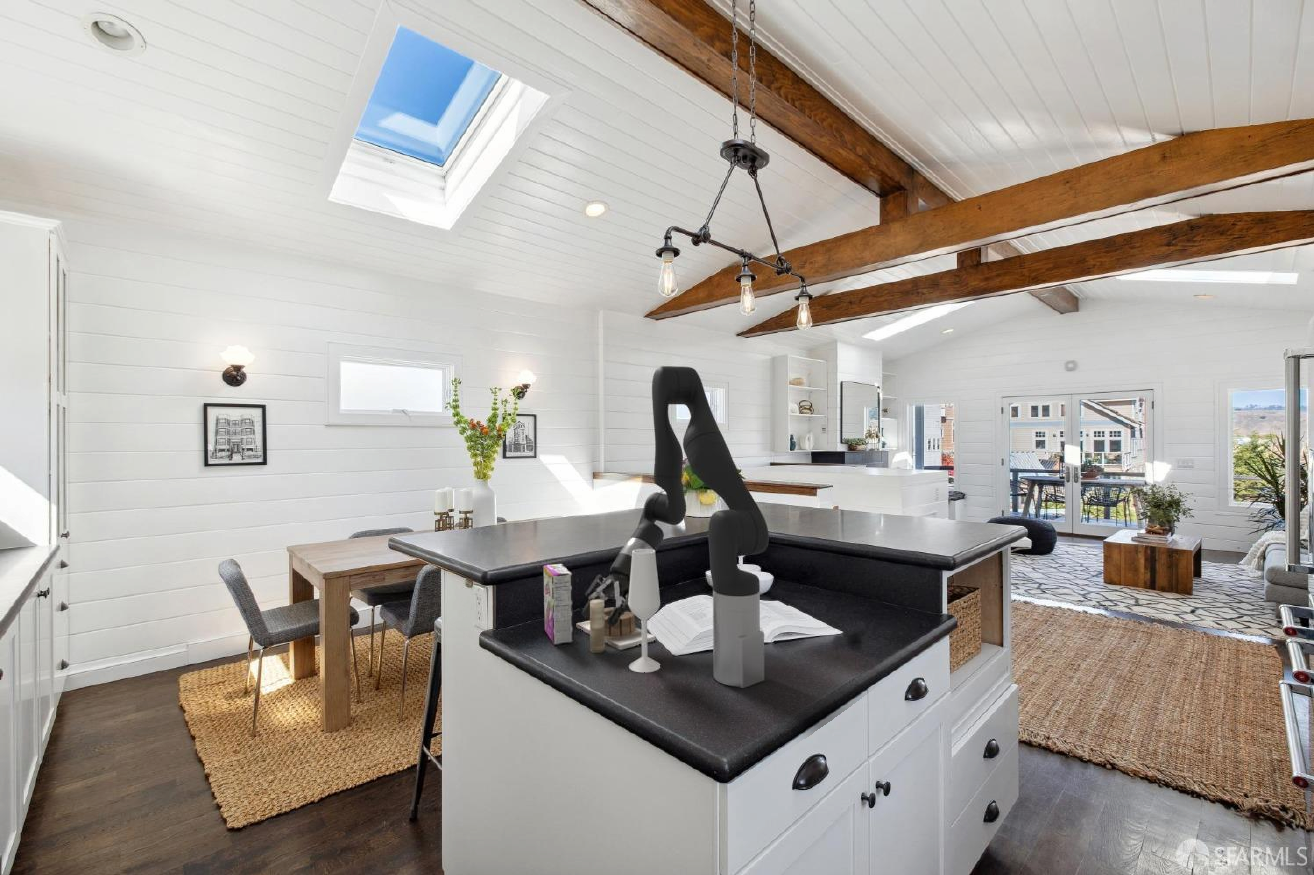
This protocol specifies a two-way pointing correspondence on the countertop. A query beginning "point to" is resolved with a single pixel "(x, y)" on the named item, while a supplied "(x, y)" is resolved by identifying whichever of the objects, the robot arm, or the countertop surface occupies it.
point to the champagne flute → (644, 600)
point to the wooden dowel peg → (597, 626)
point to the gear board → (619, 631)
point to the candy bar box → (558, 603)
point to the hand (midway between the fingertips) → (596, 620)
